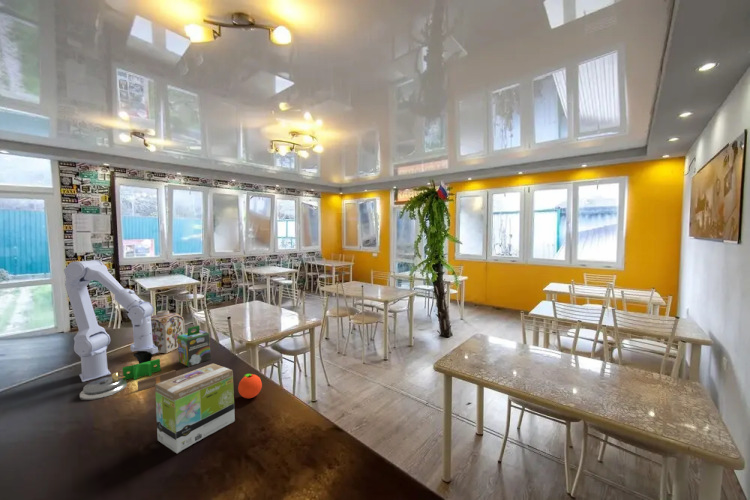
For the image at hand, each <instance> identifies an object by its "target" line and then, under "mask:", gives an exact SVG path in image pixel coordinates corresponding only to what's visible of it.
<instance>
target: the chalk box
mask: <svg viewBox="0 0 750 500" xmlns="http://www.w3.org/2000/svg"><path fill="white" fill-rule="evenodd" d="M194 329H195V330H194ZM192 330H193V331H192ZM177 341H178V350H177V352H178V358H179V359H178V361H179V363H180V364H183V366H186V367H188V368H190V367H193V366H196V365H198V364H202V363H204V362H207V361H211V360H212V357H211V354H212V353H211V342H210V332H208V331H204V330H201V326H200V325H194V326H190V327H188V328H187V332H185V334H182V335H179V336H177Z"/></svg>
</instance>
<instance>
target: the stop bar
mask: <svg viewBox="0 0 750 500" xmlns="http://www.w3.org/2000/svg"><path fill="white" fill-rule="evenodd" d="M176 371H177V370H176V369H173V370H170V371H167V372H162V373H160V374H158V375H155V376H153V375H152V376H151V377H150V376H149V377H148V378H144V379H141V380H138V381H137V391H139V392H140V391H143V390H147V389H150V388H152V387H153V388H154V387H155V385H156V384H157V383H160V382H163V381H166V380H169V379H171V378H174V377H177V372H176Z"/></svg>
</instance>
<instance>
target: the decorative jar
mask: <svg viewBox="0 0 750 500" xmlns="http://www.w3.org/2000/svg"><path fill="white" fill-rule="evenodd" d="M151 326H152V339H153V344H154V345H155V346H156V347H158V352H157V353H156V354H160V353H167V354H169V353H171V352H174V351H175V349H176V350H177V349H178V341H177V336H179V335H182V334H185V333H186V329H185V327H186V325H185V319H184V317H183V316H182V315H181V314H179V313H177V312H170V310H168V309H166V310H164V309H163V310H159V311H157V312H156V314H155V315H151ZM170 351H171V352H170ZM168 352H169V353H168Z"/></svg>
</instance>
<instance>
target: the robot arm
mask: <svg viewBox="0 0 750 500" xmlns="http://www.w3.org/2000/svg"><path fill="white" fill-rule="evenodd" d="M63 272H64V275H65V282H64V286H65V290H66V293H67V297H68V300H69V302H70V307H71V310H72V313H73V316H74V319H75V323H76V325H77V329H78V331H77V332H76V334H75V335H74V337H73V341H74V345H73V351H74V352H75V353H76V355H78V357H80V364H81V373H80V374H79V378H80V379H81V382H82V383H85V382H87V381H92V380H95V379H100V378H104V377H107V376H109V375H112V372H110V369H108V357H107V349H108V346H109V345H110V343H111V337H110V334H108V332H106V328H104V327H102V326H101V325H99V323H98V319H97V316H96V313H95V309H94V306H93V303H92V299H91V297H90V293H89V289H88V287H87V286H88V285H89V284H90V283H91V282H92V281H95V282H98V283H99V284H101V285H102V286H103V287H105V288H106V289H107V290H109V292H111V293H112V294H113V295H114V300H115V302H117V303H118V304H119V305H120V306H121V307H122V308H123V309H124V310H126V311H127V312H128V313H127V317H128V318H129V320H130V321H131V325H132V331H133V332H132V333H133V343H132V344H130V345H129V346H130V351H131V352H134V353H133V356H134V357H135V359H136V360H137V362H138V364H139V363H144V362H148V361H152V359H153V355H154V354H158V353H157V352H158V347H156V346H155V345H154V344H153V339H152V326H151V316H153V315H152V314H154V311H155V310H154V309H155V308H154V306H153V304H152V303H151V302H149V301H145V300H143V299H142V298H140V297H139V296H138V295H137V293H135V292H136V291H135V290H134V289H130V288H124V287H123V286H122V285H121V284H120V283H119V281H118V280H116V278H115V277H114V276H113V275H112V274H111V273H110V271H108V267H107V265H105V264H104V263H103V262H102V261H101V260H99V259H90V260H82V261H76V260H75V261H71V262H70V263H68V264H67V266H66V267H65V268H64V269H63Z"/></svg>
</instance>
